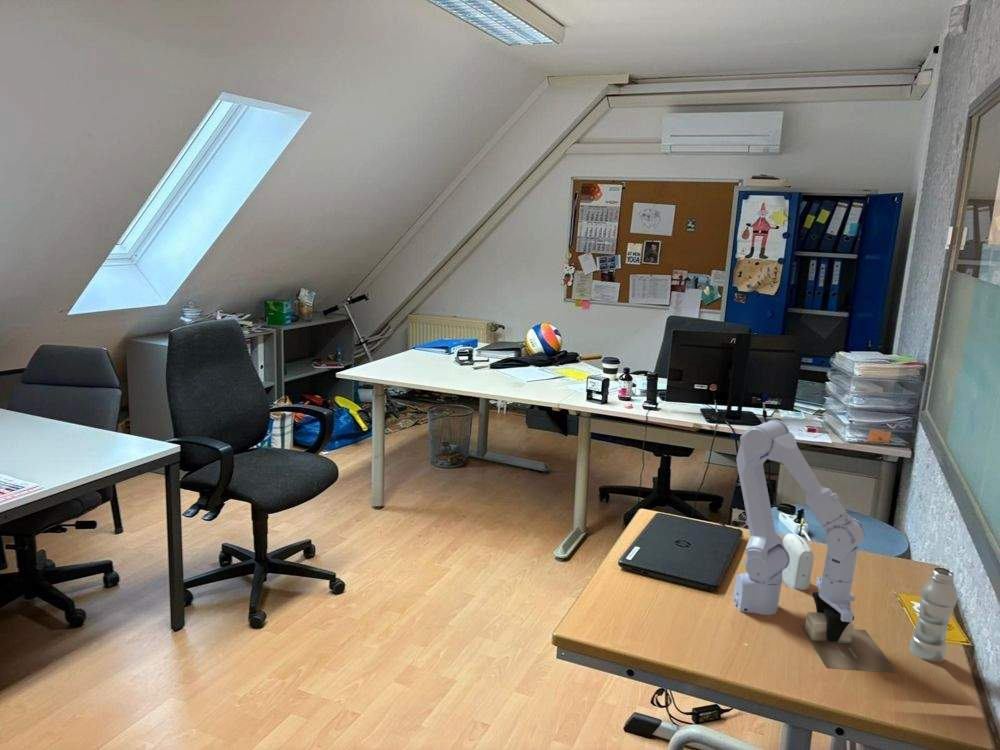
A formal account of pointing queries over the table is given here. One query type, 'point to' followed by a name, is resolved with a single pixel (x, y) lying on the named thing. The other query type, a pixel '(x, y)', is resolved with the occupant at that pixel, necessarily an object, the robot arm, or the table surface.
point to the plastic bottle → (934, 616)
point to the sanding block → (824, 628)
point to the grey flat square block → (853, 653)
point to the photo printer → (797, 562)
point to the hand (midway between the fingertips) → (827, 633)
